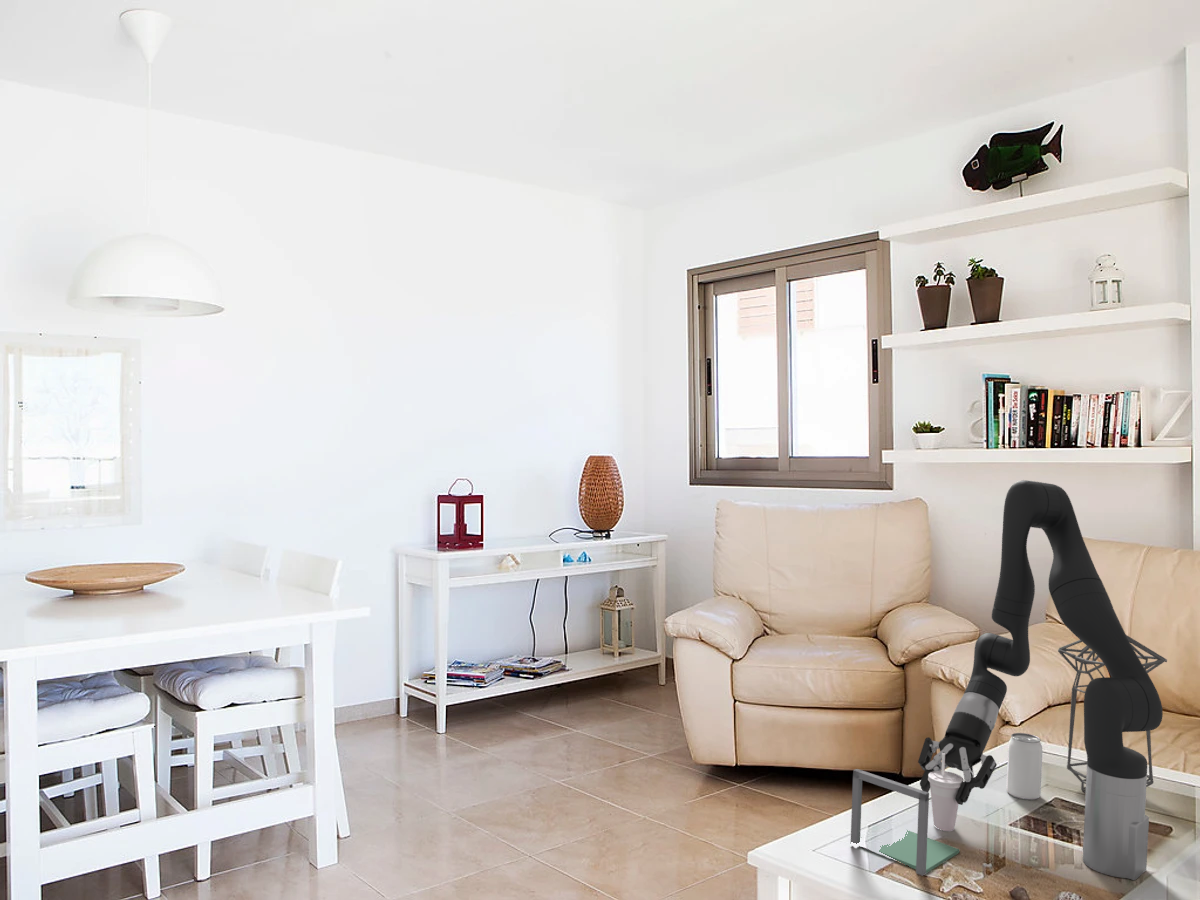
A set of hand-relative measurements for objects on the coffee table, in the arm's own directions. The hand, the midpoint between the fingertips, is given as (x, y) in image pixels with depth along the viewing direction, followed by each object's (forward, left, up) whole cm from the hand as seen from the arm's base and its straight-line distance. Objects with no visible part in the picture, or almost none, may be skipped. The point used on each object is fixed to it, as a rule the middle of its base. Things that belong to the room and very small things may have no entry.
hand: (941, 796), depth 180 cm
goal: (0, +12, -6) cm, 14 cm away
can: (-3, -30, -7) cm, 31 cm away
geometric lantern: (-14, -44, -7) cm, 46 cm away
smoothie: (0, -2, -7) cm, 7 cm away
